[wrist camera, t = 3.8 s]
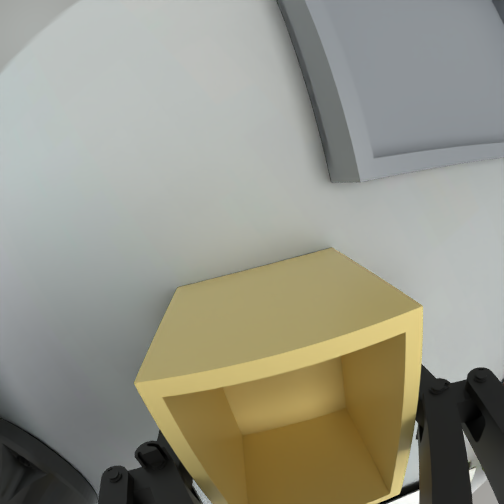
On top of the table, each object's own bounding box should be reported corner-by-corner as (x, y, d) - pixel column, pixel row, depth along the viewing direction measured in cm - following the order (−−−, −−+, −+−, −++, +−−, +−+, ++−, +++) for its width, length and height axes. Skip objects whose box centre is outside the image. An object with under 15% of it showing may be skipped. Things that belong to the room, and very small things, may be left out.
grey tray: (331, 182, 14) (360, 182, 11) (258, -42, 11) (265, -78, 8) (539, 149, 15) (568, 149, 11) (486, -5, 11) (508, -17, 8)
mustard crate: (235, 436, 17) (241, 537, 9) (177, 287, 15) (133, 383, 7) (352, 405, 17) (399, 493, 10) (332, 247, 15) (422, 306, 7)
